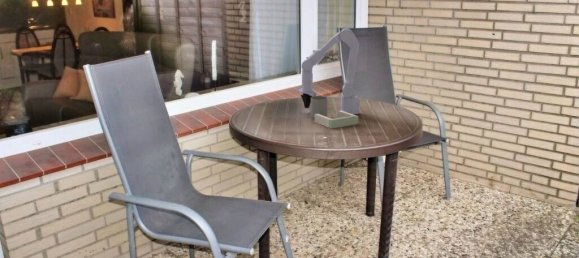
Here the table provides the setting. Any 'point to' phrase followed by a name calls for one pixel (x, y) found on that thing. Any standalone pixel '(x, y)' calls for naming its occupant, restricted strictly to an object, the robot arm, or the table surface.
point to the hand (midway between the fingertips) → (306, 107)
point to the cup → (318, 106)
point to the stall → (337, 120)
